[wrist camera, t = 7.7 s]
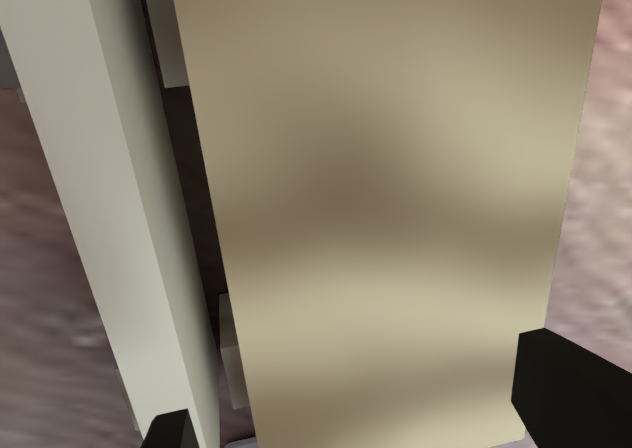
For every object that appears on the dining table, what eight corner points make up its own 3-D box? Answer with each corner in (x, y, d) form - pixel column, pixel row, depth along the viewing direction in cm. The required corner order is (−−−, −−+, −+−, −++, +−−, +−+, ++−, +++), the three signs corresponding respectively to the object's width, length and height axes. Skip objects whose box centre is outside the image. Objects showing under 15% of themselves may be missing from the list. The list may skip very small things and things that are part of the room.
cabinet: (457, 347, 23) (523, 438, 18) (161, 410, 21) (145, 531, 16) (496, -151, 15) (643, -234, 10) (-6, -134, 12) (-154, -231, 7)
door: (218, 355, 21) (220, 502, 15) (155, 368, 20) (129, 524, 14) (129, -52, 14) (62, -100, 8) (31, -45, 13) (-126, -93, 7)
